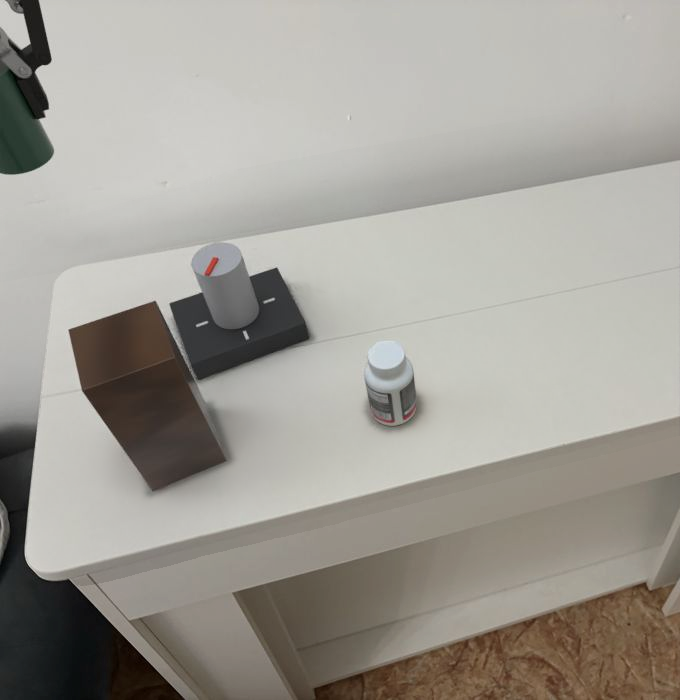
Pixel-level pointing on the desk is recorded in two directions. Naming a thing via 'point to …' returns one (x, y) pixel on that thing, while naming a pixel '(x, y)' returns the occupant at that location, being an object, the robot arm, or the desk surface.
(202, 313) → the dark grey panel
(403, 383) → the pill bottle
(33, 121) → the tea tin
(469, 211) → the desk surface
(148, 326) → the stand
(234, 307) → the grey round cylinder
